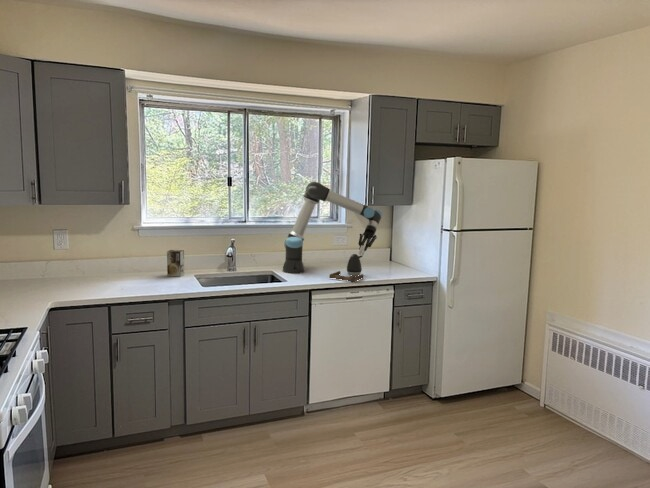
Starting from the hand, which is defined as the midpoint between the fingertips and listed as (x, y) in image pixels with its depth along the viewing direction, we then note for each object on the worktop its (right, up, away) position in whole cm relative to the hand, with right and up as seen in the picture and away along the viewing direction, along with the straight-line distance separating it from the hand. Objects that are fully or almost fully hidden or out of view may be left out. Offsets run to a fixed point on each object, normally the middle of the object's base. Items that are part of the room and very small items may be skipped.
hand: (360, 253), depth 334 cm
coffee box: (-121, -14, -26) cm, 124 cm away
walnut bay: (-11, -16, -17) cm, 26 cm away
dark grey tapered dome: (-5, -15, -7) cm, 18 cm away
